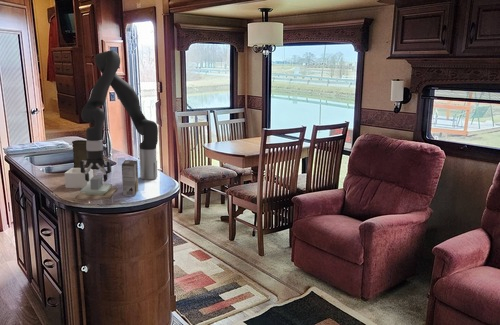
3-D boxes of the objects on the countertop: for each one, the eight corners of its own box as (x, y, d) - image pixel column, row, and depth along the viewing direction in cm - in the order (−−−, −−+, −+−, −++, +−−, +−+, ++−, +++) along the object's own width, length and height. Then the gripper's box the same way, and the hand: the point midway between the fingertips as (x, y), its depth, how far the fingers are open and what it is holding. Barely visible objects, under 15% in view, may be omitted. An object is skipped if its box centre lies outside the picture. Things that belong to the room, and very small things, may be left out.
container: (83, 173, 246) (82, 142, 242) (70, 171, 248) (68, 141, 244) (92, 169, 255) (90, 140, 251) (79, 168, 257) (77, 139, 253)
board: (117, 189, 217) (117, 187, 217) (109, 199, 201) (109, 197, 201) (85, 189, 216) (85, 187, 216) (75, 198, 200) (75, 196, 200)
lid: (112, 188, 215) (111, 174, 213) (106, 195, 203) (105, 180, 201) (88, 188, 214) (87, 174, 212) (80, 195, 202) (79, 180, 200)
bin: (93, 182, 228) (92, 168, 226) (87, 188, 217) (86, 173, 215) (72, 182, 227) (71, 167, 225) (65, 187, 216) (64, 172, 215)
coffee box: (125, 190, 216) (125, 159, 212) (138, 190, 216) (137, 160, 213) (122, 195, 207) (121, 164, 203) (135, 195, 208) (134, 164, 204)
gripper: (111, 147, 208) (113, 179, 211) (82, 147, 207) (84, 179, 210) (107, 150, 200) (109, 183, 204) (77, 150, 199) (79, 183, 203)
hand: (96, 181), depth 207 cm, fingers open, 8 cm apart
